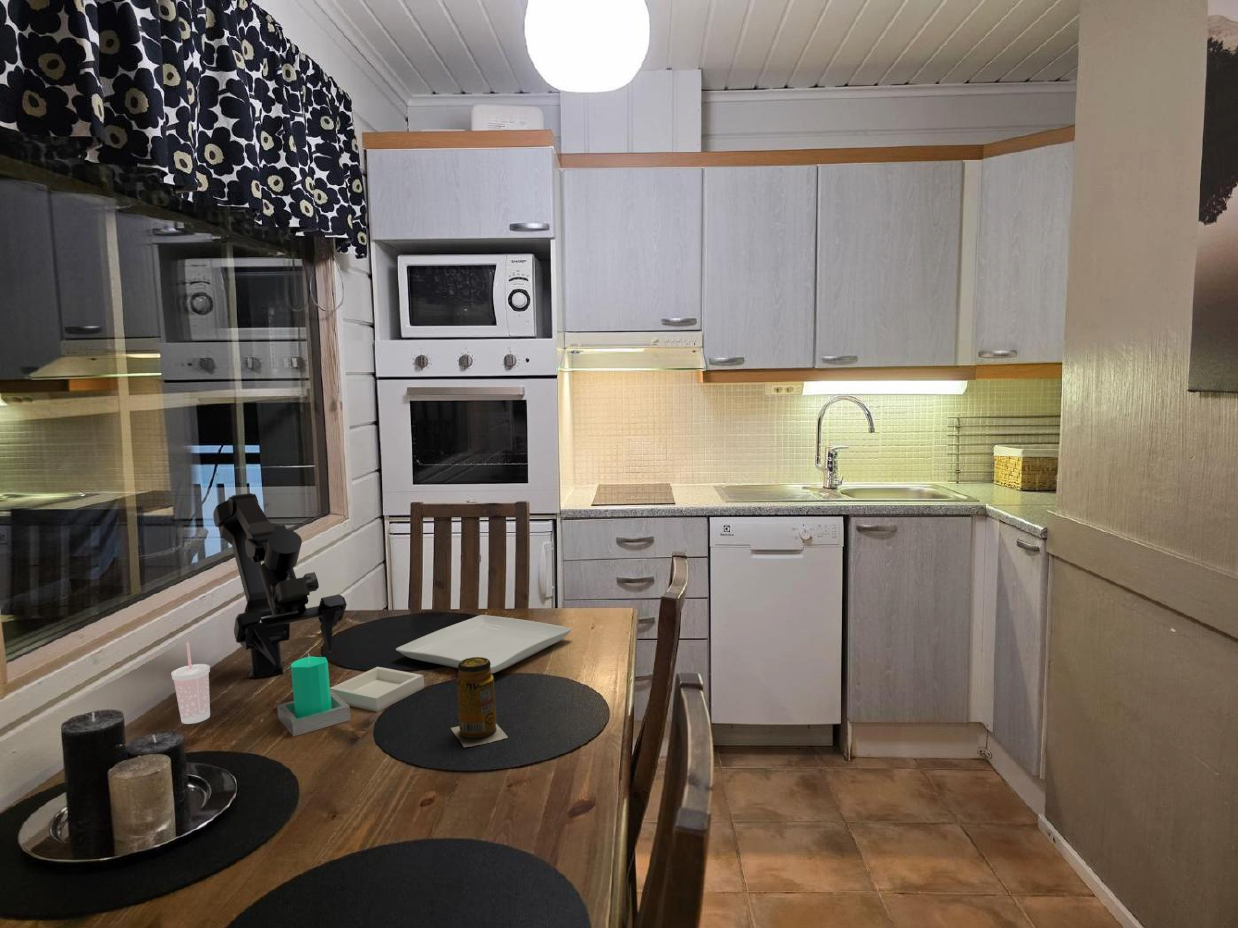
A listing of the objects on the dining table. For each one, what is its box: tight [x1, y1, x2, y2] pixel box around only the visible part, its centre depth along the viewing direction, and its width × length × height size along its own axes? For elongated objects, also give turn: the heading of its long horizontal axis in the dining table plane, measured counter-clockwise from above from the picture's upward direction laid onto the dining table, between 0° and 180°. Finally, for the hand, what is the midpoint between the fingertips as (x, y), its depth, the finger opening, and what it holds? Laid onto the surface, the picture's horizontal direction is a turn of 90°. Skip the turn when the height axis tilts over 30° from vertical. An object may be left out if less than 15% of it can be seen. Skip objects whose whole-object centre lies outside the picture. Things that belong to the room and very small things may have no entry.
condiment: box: [450, 657, 509, 748], centre depth 132 cm, size 7×8×12 cm
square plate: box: [395, 614, 573, 675], centre depth 173 cm, size 27×27×4 cm
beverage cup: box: [170, 641, 211, 725], centre depth 143 cm, size 6×6×14 cm
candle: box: [290, 652, 332, 718], centre depth 141 cm, size 6×6×12 cm
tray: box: [330, 666, 425, 713], centre depth 151 cm, size 12×12×2 cm
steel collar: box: [276, 691, 352, 737], centre depth 141 cm, size 10×10×2 cm
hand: (303, 657), depth 143 cm, fingers open, 9 cm apart
